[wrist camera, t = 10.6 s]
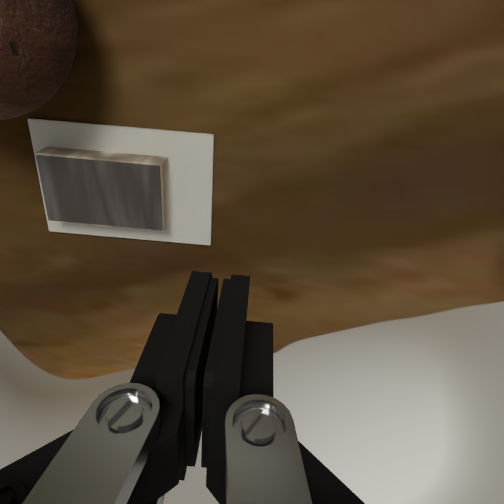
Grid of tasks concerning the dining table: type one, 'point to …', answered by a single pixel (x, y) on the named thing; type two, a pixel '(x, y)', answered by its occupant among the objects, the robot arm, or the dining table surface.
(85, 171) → the ash tile
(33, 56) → the wooden sphere
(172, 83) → the dining table surface
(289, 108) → the dining table surface
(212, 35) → the dining table surface
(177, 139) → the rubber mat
